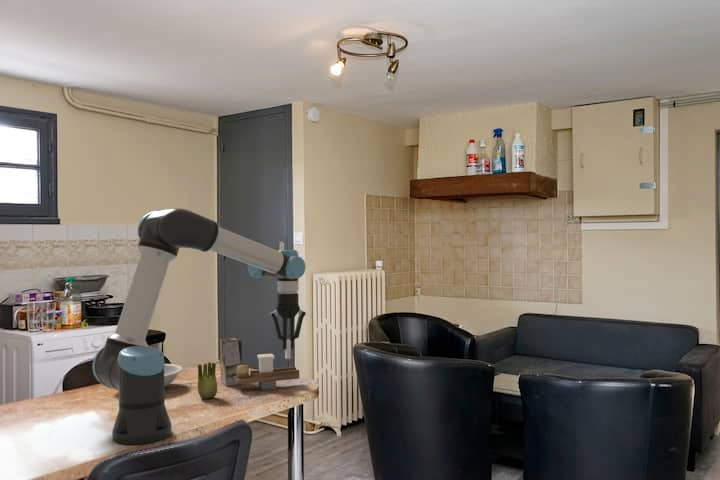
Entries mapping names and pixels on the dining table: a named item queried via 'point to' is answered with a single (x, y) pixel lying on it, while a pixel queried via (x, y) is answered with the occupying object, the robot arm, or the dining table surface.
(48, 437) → the dining table surface
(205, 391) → the fennel bulb
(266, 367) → the white rounded block
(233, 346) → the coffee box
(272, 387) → the beam
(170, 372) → the soup bowl
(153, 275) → the robot arm
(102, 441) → the dining table surface
